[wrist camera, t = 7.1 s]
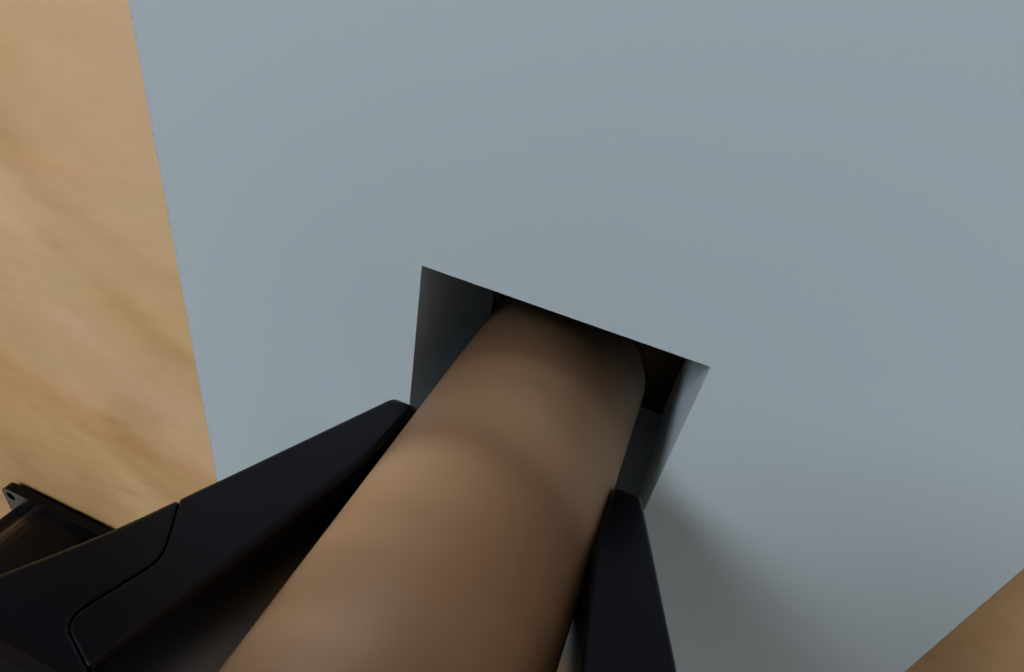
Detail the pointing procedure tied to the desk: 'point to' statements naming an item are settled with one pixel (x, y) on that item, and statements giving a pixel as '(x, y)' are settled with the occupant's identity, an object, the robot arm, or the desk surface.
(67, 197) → the desk surface
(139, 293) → the desk surface
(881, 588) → the socket block
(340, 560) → the peg
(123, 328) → the desk surface
